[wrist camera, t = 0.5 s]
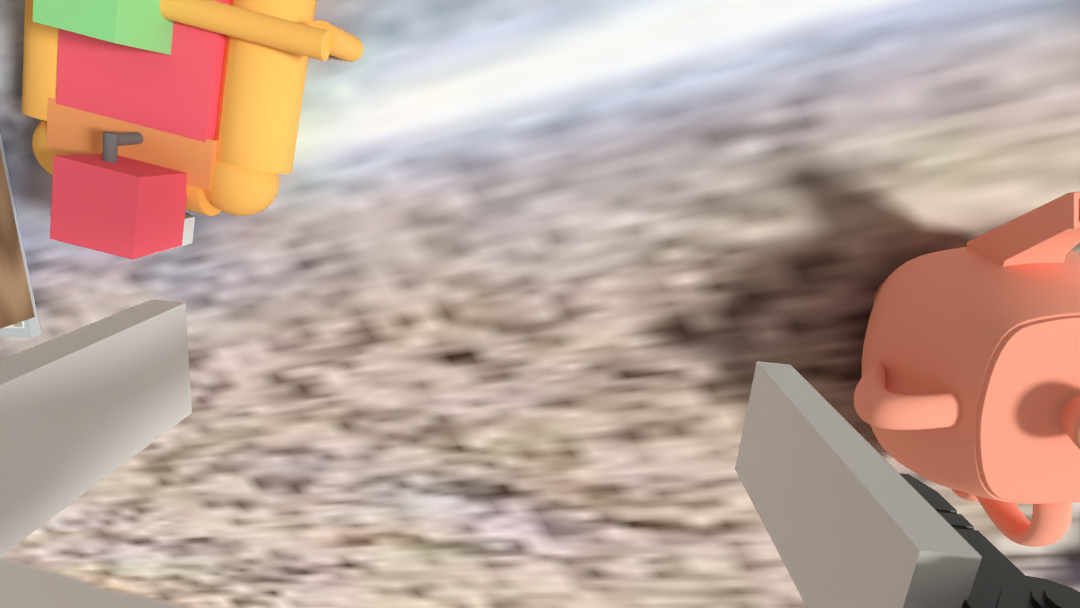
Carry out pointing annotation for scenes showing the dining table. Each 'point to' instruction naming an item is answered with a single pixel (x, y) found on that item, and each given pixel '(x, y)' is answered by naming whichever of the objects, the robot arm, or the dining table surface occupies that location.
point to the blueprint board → (31, 325)
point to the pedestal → (11, 264)
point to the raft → (166, 110)
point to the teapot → (986, 370)
